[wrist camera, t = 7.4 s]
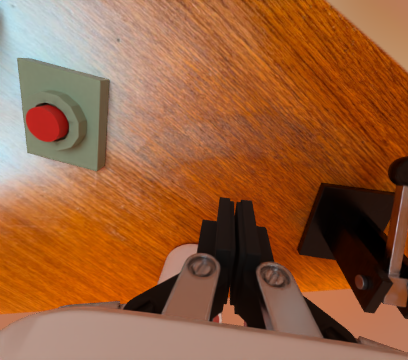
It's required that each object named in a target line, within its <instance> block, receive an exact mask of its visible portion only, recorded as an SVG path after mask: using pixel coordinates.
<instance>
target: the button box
mask: <svg viewBox="0 0 408 360" xmlns="http://www.w3.org/2000/svg"><path fill="white" fill-rule="evenodd" d="M17 61H18V70H19V79H20V89H21V98H22V110H23V119H24V125H25V135H26V144H27V153H30V154H34V155H38V156H42V157H45V158H49V159H53V160H57V161H60V162H64V163H68V164H71V165H75V166H79V167H83V168H86V169H90V170H94V171H98V170H100V169H101V168H102V167H104V166H105V152H106V133H107V114H108V95H109V80H108V79H105V78H101V77H97V76H94V75H90V74H86V73H83V72H79V71H75V70H72V69H68V68H64V67H61V66H57V65H53V64H49V63H46V62H42V61H38V60H35V59H29V58H17ZM44 105H51V106H54V107H56V108H58V109H59V110H61V111H62V112H63V113H64V115H65V116H66V118H67V120H68V124H69V129H68V132H67V134H66V135H65V136H64V137H62V138H59V139H57V140H54V141H52V142H45V141H41V140H39V139H38V138H36V137H35V136H34V135H33V134H32V133H31V132H30V130H29V129H28V127H27V124H26V114H27V112H28V111H29V110H30V109H31V108H34V107H39V106H44Z"/></svg>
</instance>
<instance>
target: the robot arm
mask: <svg viewBox="0 0 408 360" xmlns="http://www.w3.org/2000/svg"><path fill="white" fill-rule="evenodd" d="M229 287H230V305H234V307H235V308H234V310H235V314H239V316H240V317H241V318H242V319H243V320H244V326H238V325H230V324H224V323H217V322H213V318H215V317H216V316H217V315H219V314H220V313H221V312H222V311H223V305H224V304H227V299H228V293H229ZM0 360H408V353H407V352H404V351H401V350H398V349H395V348H392V347H389V346H387V345H384V344H381V343H378V342H375V341H372V340H369V339H367V338H364V337H361V336H359V338H358V339H356V338H354V336H353V335H352V334H351V333H350V332H349V331H348V330H347V329H346V328H344V327H343V326H342V325H341V324H339V323H338V322H337V321H335V320H334V319H333V318H331V317H330V316H329V315H328V314H326V313H325V312H323V310H321V309H320V308H319V307H317V306H316V305H315V304H313V303H312V302H311V301H310V300H308V299H307V298H305V297H304V296H303V295H302V293H301V291H300V289H299V287H298V285H297V283H296V281H295V279H294V277H293V275H292V274H291V272H290V271H289V270H288V269H287V268H286V267H284V266H282V265H281V264H278V263H275V262H274V259H273V255H272V250H271V246H270V242H269V238H268V234H267V230H266V228H265V227H259V226H256V221H255V215H254V210H253V204H252V201H248V200H241V202H237V204H236V210H235V216H234V202H233V201H230V198H222V197H220V200H219V209H218V217H217V221H210V220H203V221H202V226H201V232H200V237H199V243H198V248H197V253H196V254H193V255H191V256H189V257H188V258H187V259H186V261H185V262H184V265H183V267H182V269H181V271H180V273H178V274H177V275H175V276H173V277H171V278H169V279H167V280H166V281H164V282H162V283H160V284H158V285H156V286H155V287H153V288H151V289H149V290H147V291H145V292H144V293H142V294H140V295H138V296H136V297H135V298H133V299H132V300H130V301H129V302H128V303H127V304H120V301H115V302H101V303H88V304H74V305H66V306H61V307H59V308H57V309H52V310H48V311H43V312H39V313H36V314H32V315H29V316H26V317H24V318H21V319H19V320H17V321H15V322H13V323H11V324H9V325H8V326H6V327H5V328H3V329H2V330H0Z"/></svg>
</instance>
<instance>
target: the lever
mask: <svg viewBox="0 0 408 360" xmlns="http://www.w3.org/2000/svg"><path fill="white" fill-rule="evenodd" d="M388 176H389V178H390V180H391V181H392V182H393V183H394V184H396V191H395V196H394V202H393V208H392V214H391V220H390V226H389V232H388V238H387V244H386V250H385V255H384V261H383V267H382V269H383V270H384V271H385V273H386V274H387V275H388V277H389V278H390V279H391V281H392V282H393V285H392V287H391V288H390V290H389V291H388V293H387V294H386V296H385V297H384V299H383V301H382V303H383V304H388V305H394V306H401V307H406V304H407V298H408V279H407V278H406V277H404V276H402V275H400V270H401V265H402V259H403V253H404V247H405V242H406V236H407V230H408V156H406V157H401V158H399V159H397V160H395V161H394V162H392V164H391V165H390V166H389V169H388Z"/></svg>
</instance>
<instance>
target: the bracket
mask: <svg viewBox="0 0 408 360" xmlns="http://www.w3.org/2000/svg"><path fill="white" fill-rule="evenodd" d="M394 196H395V193H394V192H387V191H379V190H372V189H364V188H357V187H350V186H342V185H335V184H327V183H321V185H320V188H319V191H318V194H317V196H316V199H315V202H314V205H313V208H312V210H311V213H310V216H309V219H308V221H307V224H306V227H305V230H304V232H303V235H302V238H301V241H300V243H299V246H298V249H297V250H298V253H299V255H306V256H312V257H319V258H325V259H332V260H336V261H337V263H338V265H339V267H340V269H341V270H342V272H343V274H344V276H345V278H346V280H347V281H348V283H349V285H350V287H351V289H352V290H353V292H354V294H355V296H356V298H357V300H358V301H359V303H360V305H361V307H362V309H363V310H364V312H368V313H375V311H376V310H377V308H378V307H379V305H380V304H381V302H382V301H383V299H384V297H385V296H386V294H387V293H388V291H389V290H390V288H391V287H392V285H393V282H392V281H391V279H390V278H389V277H388V275H387V274H386V273H385V271H384V270H383V269H382V267H383V261H384V255H385V250H386V244H387V238H388V236H387V235H386V234H385V233H384V232H383V231H384V230H385V228H386V226H387V224H388V222H389V220H390V219H391V214H392V208H393V202H394ZM400 275H402V276H404V277H406V278H407V279H408V258H407V257H406V256H405V255H404V253H403V259H402V265H401V270H400ZM397 308H398V309H399V311H400V312H401V314H402V315H403V316H404V318H405V319H408V298H407V304H406V307H401V306H397Z"/></svg>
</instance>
